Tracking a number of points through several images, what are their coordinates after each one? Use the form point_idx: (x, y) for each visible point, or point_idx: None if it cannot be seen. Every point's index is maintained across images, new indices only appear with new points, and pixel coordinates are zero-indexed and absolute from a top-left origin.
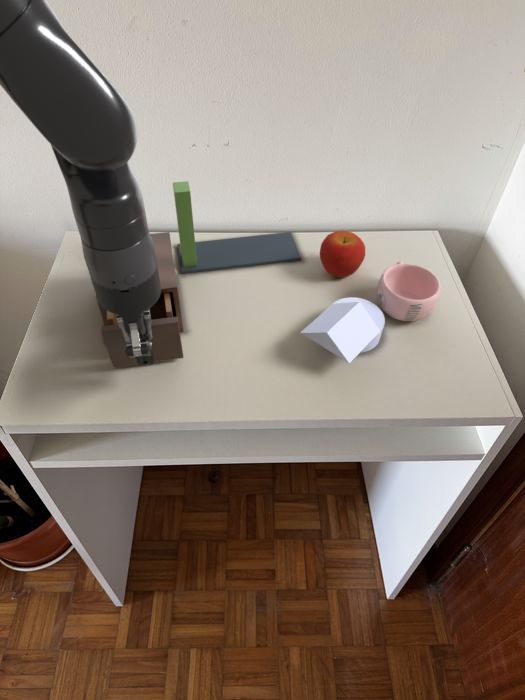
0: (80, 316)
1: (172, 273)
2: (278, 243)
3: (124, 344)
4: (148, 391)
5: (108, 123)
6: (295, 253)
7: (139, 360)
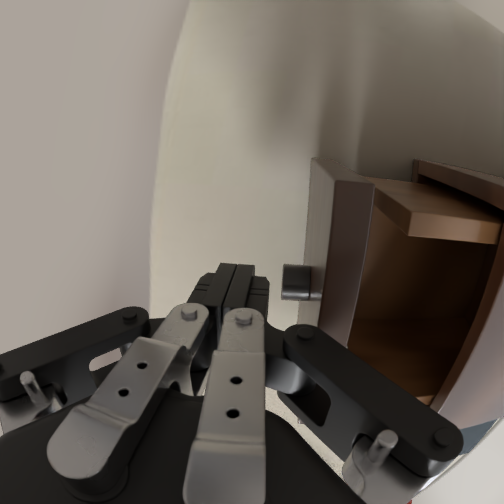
0: (496, 109)
1: (472, 422)
2: (463, 445)
3: (317, 232)
4: (227, 233)
5: None
6: None
7: (195, 289)
